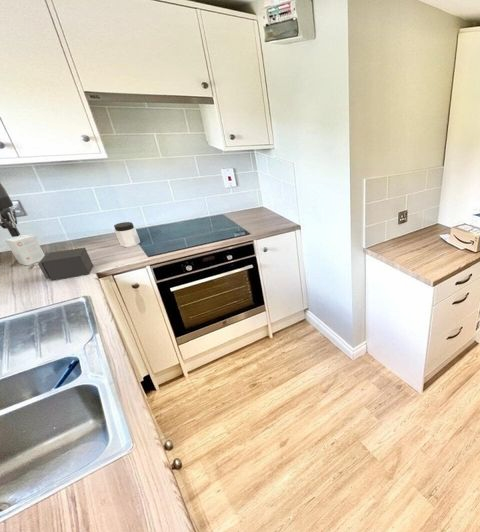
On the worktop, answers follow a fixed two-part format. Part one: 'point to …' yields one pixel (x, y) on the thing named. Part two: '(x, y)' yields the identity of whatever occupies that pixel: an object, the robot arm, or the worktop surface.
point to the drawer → (39, 268)
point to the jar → (126, 234)
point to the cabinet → (67, 263)
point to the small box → (25, 249)
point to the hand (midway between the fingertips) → (16, 236)
